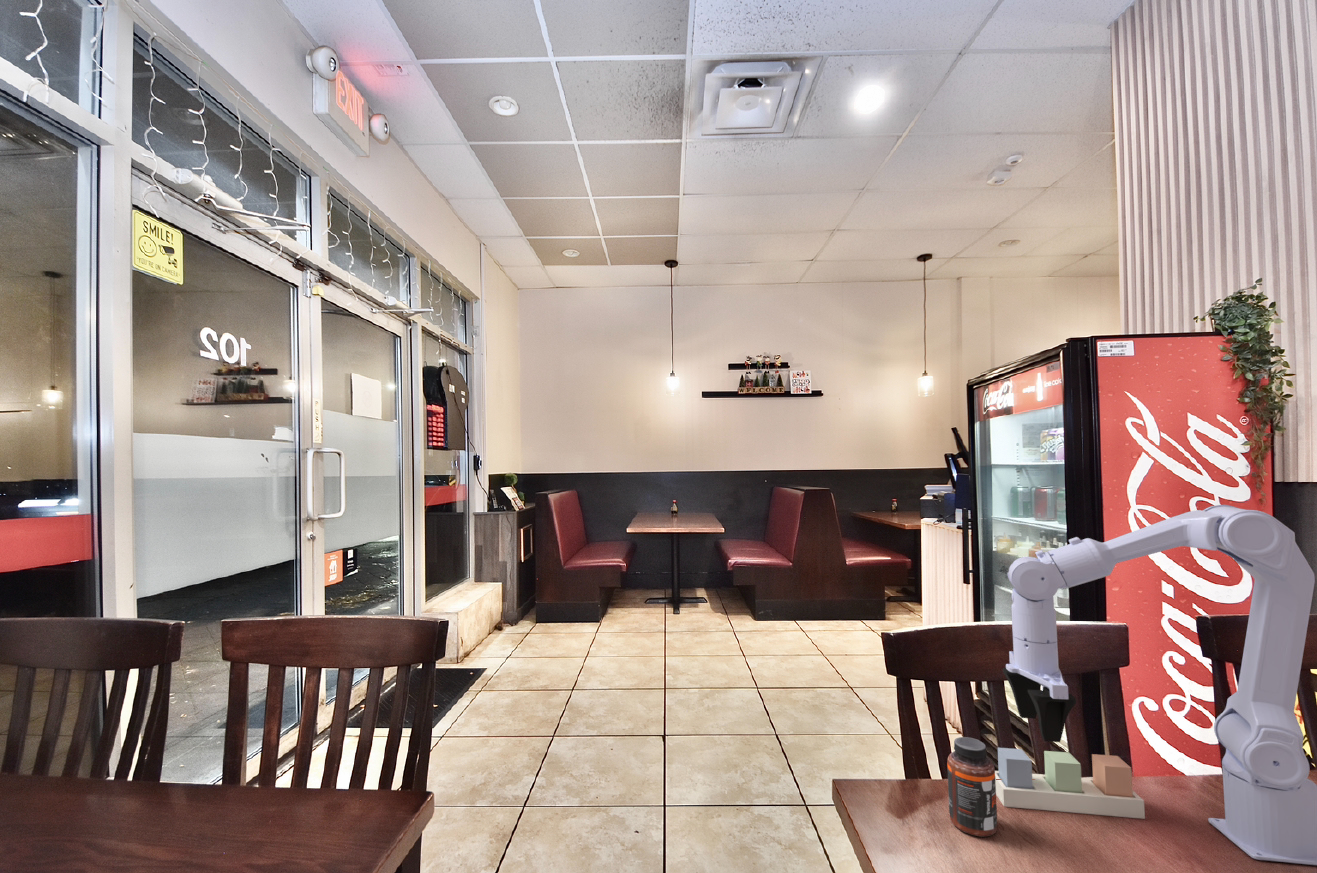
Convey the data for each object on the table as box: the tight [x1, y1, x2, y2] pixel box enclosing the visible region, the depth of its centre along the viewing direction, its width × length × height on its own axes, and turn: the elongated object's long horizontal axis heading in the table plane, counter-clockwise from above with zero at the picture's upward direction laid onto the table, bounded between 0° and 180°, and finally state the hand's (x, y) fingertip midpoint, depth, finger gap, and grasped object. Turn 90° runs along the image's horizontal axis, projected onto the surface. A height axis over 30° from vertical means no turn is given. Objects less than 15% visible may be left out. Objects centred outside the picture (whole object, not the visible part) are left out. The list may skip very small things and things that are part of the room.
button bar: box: [995, 770, 1146, 820], centre depth 86 cm, size 18×5×2 cm, turn 79°
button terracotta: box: [1091, 753, 1134, 798], centre depth 85 cm, size 3×3×4 cm
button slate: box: [997, 747, 1033, 789], centre depth 87 cm, size 3×3×4 cm
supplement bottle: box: [947, 736, 998, 837], centre depth 81 cm, size 6×6×11 cm
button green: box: [1043, 750, 1082, 793], centre depth 86 cm, size 3×3×4 cm
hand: (1039, 728), depth 88 cm, fingers open, 7 cm apart
